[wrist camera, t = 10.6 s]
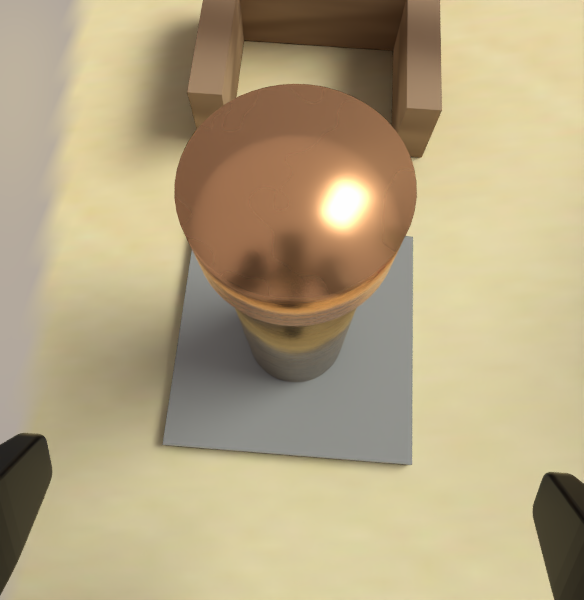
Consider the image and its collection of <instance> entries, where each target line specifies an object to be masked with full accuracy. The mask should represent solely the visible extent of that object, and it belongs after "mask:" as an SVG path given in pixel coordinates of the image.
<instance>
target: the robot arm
mask: <svg viewBox="0 0 584 600" xmlns="http://www.w3.org/2000/svg"><path fill="white" fill-rule="evenodd" d="M51 477H52V465H51V460H50V455H49V450H48V445H47V441H46V438H45V437H44V436H43V435H41V434H30V433H21V434H18V435H16V436H14V437H13V438H11V439H9V440H8V441H6V442H4V443H2V444H1V445H0V595H1V593H2V591H3V589H4V587H5V586H6V584H7V582H8V580H9V578H10V576H11V574H12V572H13V570H14V568H15V566H16V564H17V562H18V560H19V557H20V555H21V553H22V550H23V548H24V546H25V543H26V541H27V538H28V536H29V533H30V531H31V528H32V526H33V523H34V521H35V518H36V516H37V514H38V511H39V509H40V506H41V504H42V501H43V499H44V496H45V494H46V491H47V489H48V486H49V484H50V481H51ZM533 519H534V523H535V527H536V531H537V535H538V539H539V543H540V546H541V550H542V554H543V558H544V562H545V566H546V570H547V574H548V578H549V582H550V586H551V589H552V593H553V597H554V600H584V483H582V482H581V481H580V480H578V479H577V478H576V477H575V476H573V475H571V474H568V473H558V472H548V473H546V474H545V475H544V476H543V478H542V481H541V484H540V487H539V490H538V493H537V495H536V498H535V501H534V504H533Z"/></svg>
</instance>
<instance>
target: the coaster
mask: <svg viewBox="0 0 584 600" xmlns="http://www.w3.org/2000/svg"><path fill="white" fill-rule="evenodd" d="M412 340H413V237H410V236H405V238H404V240H403V242H402V244H401V246H400V248H399V251H398V253H397V255H396V257H395V259H394V261H393V263H392V265H391V267H390V270H389V272H388V274H387V276H386V277H385V279H384V280H383V282H382V283H381V285H380V286H379V288H378V289H377V290H376V291H375V292H374V293H373V294H372V296H371V297H369V298H368V299H367V300H366V301H365V302H364V303H362V304H361V305H360V306H358V307H357V308H356V311H355V314H354V316H353V319H352V321H351V324H350V327H349V329H348V332H347V335H346V337H345V340H344V343H343V345H342V348H341V350H340V353H339V355H338V357H337V359H336V361H335V362H334V364H333V365H332V366H331V367H330V368H329V369H328V370H327V371H326V372H325V373H323V374H322V375H320V376H319V377H317V378H315V379H312V380H309V381H304V382H287V381H283V380H280V379H277V378H275V377H273V376H271V375H270V374H268V373H267V372H266V371H265V370H263V369H262V368H261V366H260V365H259V364H258V363H257V361H256V360H255V358H254V356H253V354H252V351H251V349H250V346H249V343H248V341H247V338H246V336H245V333H244V330H243V328H242V325H241V323H240V320H239V317H238V315H237V312H236V310H235V308H234V307H233V306H231V305H230V304H229V303H227V302H226V301H225V300H224V299H223V298H222V297H220V295H219V294H218V293H217V292H216V291H215V290H214V289H213V287H212V286H211V285H210V283H209V282H208V280H207V279H206V277H205V275H204V273H203V271H202V269H201V267H200V265H199V263H198V261H197V259H196V257H195V255H194V253H193V250H192V252H191V259H190V265H189V272H188V279H187V285H186V292H185V299H184V305H183V312H182V319H181V325H180V332H179V338H178V345H177V352H176V358H175V365H174V372H173V378H172V385H171V392H170V398H169V405H168V412H167V418H166V425H165V432H164V438H163V445H170V446H182V447H195V448H207V449H219V450H232V451H244V452H257V453H269V454H282V455H294V456H306V457H319V458H331V459H344V460H356V461H368V462H381V463H393V464H406V465H412Z"/></svg>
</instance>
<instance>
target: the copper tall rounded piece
mask: <svg viewBox="0 0 584 600" xmlns="http://www.w3.org/2000/svg"><path fill="white" fill-rule="evenodd" d="M416 198H417V190H416V177H415V171H414V167H413V164H412V160H411V157H410V155H409V152H408V150H407V148H406V146H405V144H404V142H403V141H402V139H401V138H400V136H399V135H398V133H397V132H396V130H395V129H394V128H393V127H392V126H391V125H390V123H389V122H388V121H387V120H386V119H385V118H384V117H382V116H381V115H380V114H379V113H378V112H377V111H376V110H374V109H373V108H371V107H370V106H368V105H367V104H366V103H364V102H362V101H360V100H358V99H356V98H355V97H353V96H350V95H348V94H345V93H343V92H340V91H337V90H334V89H330V88H326V87H322V86H315V85H307V84H286V85H276V86H270V87H265V88H262V89H258V90H255V91H251V92H249V93H246V94H244V95H241V96H239V97H237V98H235V99H233V100H232V101H230V102H228V103H226V104H225V105H223V106H222V107H220V108H219V109H218V110H216V111H215V112H213V113H212V114H211V115H210V116H209V117H208V118H207V119H206V120H205V121H204V122H203V123H202V124H201V125H200V126H199V128H198V129H197V130H196V131H195V132H194V134H193V135H192V137H191V138H190V140H189V141H188V143H187V145H186V147H185V149H184V151H183V153H182V155H181V158H180V161H179V165H178V168H177V172H176V179H175V204H176V211H177V215H178V218H179V221H180V225H181V227H182V229H183V232H184V234H185V236H186V238H187V240H188V242H189V244H190V246H191V248H192V250H193V253H194V255H195V257H196V259H197V261H198V263H199V265H200V267H201V269H202V271H203V273H204V275H205V277H206V279H207V280H208V282H209V283H210V285H211V286H212V287H213V289H214V290H215V291H216V292H217V293H218V294H219V295H220V297H222V298H223V299H224V300H225V301H226V302H227V303H229V304H230V305H231V306H233V307H234V308H235V310H236V312H237V315H238V317H239V320H240V323H241V325H242V328H243V330H244V333H245V336H246V338H247V341H248V343H249V346H250V349H251V351H252V354H253V356H254V358H255V360H256V361H257V363H258V364H259V365H260V366H261V368H262V369H263V370H265V371H266V372H267V373H268V374H270V375H271V376H273V377H275V378H277V379H280V380H283V381H287V382H304V381H309V380H312V379H315V378H317V377H319V376H320V375H322V374H323V373H325V372H326V371H327V370H328V369H329V368H330V367H331V366H332V365H333V364H334V362H335V361H336V359H337V357H338V355H339V353H340V350H341V348H342V345H343V343H344V340H345V337H346V335H347V332H348V329H349V327H350V324H351V321H352V319H353V316H354V314H355V311H356V308H357V307H358V306H360V305H361V304H362V303H364V302H365V301H366V300H367V299H368V298H369V297H371V296H372V294H373V293H374V292H375V291H376V290H377V289H378V288H379V286H380V285H381V283H382V282H383V280H384V279H385V277H386V276H387V274H388V272H389V270H390V267H391V265H392V263H393V261H394V259H395V257H396V255H397V253H398V251H399V248H400V246H401V244H402V242H403V240H404V238H405V236H406V234H407V231H408V229H409V227H410V225H411V222H412V218H413V215H414V211H415V205H416Z"/></svg>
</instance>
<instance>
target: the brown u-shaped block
mask: <svg viewBox="0 0 584 600" xmlns="http://www.w3.org/2000/svg"><path fill="white" fill-rule="evenodd" d="M244 40H248V41H263V42H277V43H291V44H306V45H320V46H335V47H349V48H364V49H378V50H392V51H393V88H392V127H393V128H394V129H395V130H396V132H397V133H398V135H399V136H400V138H401V139H402V141H403V142H404V144H405V146H406V148H407V150H408V152H409V155H410V156H411V157H422V155H423V153H424V151H425V148H426V146H427V144H428V141H429V139H430V137H431V134H432V132H433V130H434V127H435V125H436V123H437V120H438V118H439V116H440V113H441V111H442V91H441V33H440V0H203V3H202V9H201V15H200V21H199V26H198V32H197V38H196V44H195V50H194V56H193V61H192V67H191V73H190V79H189V85H188V91H187V93H188V97H189V101H190V105H191V109H192V112H193V116H194V120H195V124H196V128H197V129H198V128H199V126H200V125H201V124H202V123H203V122H204V121H205V120H206V119H207V118H208V117H209V116H210V115H211V114H212V113H213V112H215V111H216V110H218V109H219V108H220V107H222V106H223V105H225V104H226V103H228V102H230V101H232V100H233V99H235V98H236V96H237V88H238V81H239V73H240V66H241V58H242V51H243V44H244Z"/></svg>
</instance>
